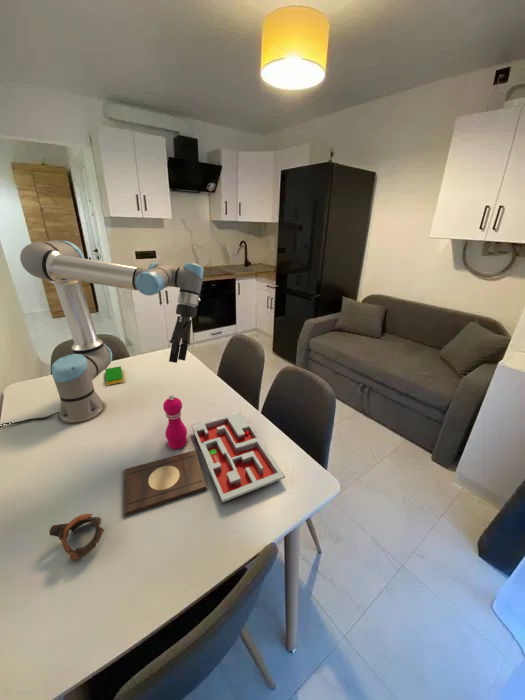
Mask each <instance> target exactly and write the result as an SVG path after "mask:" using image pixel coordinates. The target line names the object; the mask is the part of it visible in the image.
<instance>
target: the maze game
mask: <svg viewBox="0 0 525 700" xmlns="http://www.w3.org/2000/svg"><path fill="white" fill-rule="evenodd" d="M191 428H192V432H193V433H194V434H193V435H194V436H195V439H196V441H197V445H198V446H199V448H200V449H199V450H200V451H201V453H202V456H203V458H204V462H205V463H206V466H207V468H208V471H209V473H210V476H211V478H212V480H213V482H214V485H215V488H216V490H217V493H218V495H219V498H220V499H221V500H220V501H221V503H222V504H223V503H225V502H228V501H230V500H233V499H235V498H238V497H241V496H243V495H246V494H247V493H250V492H253V491H255V490H259V489H260V488H262V487H266V486H268V485H270V484H272V483H275V482H278V481H280V480H284V479H285V478H286V475H285V473H284V472H283V470H282V469H281V468H280V466H279V465H278V463H277V462H276V461H275V458H274V457H273V456H272V454H271V453H270V452H269V450H268V449H267V447H266V446H265V445H264V443H263V441H262V439H261V438H260V437H259V436H258V434H257V433H256V431H255V430H254V428H253V427H252V425H251V424H250V423H249V421H248V420H247V419H246V417H245V415H244V414H243V413H242V411H238V412H234V413H230V414H226V415H223V416H219V417H216V418H212V419H208V420H204V421H200V422H197V423H193V424H191Z"/></svg>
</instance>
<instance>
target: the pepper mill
mask: <svg viewBox="0 0 525 700" xmlns="http://www.w3.org/2000/svg"><path fill="white" fill-rule="evenodd" d="M162 407H163V411H164V412H165V417H166V418H167V420H168V423H167V426H166V429H165V439H166V440H167V445H168V448H170V449H172V450H179V449H182V448H183V447H185V446H186V445H187V434H188V430H187V427H186V425H185V424H184V422H183V421H182V419H181V416H182V408H183V402H182V401H181V399H180V398H178V397H175V396H174V395H173V394H170V395H169V396H168V398H167V399H166V400H165V401H164V402H163V404H162Z"/></svg>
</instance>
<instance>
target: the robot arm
mask: <svg viewBox="0 0 525 700" xmlns="http://www.w3.org/2000/svg"><path fill="white" fill-rule="evenodd" d="M19 260H20V264H21V265H22V268H23V269H24V270H25V271H26V272H27V273H28V274H29V275H31V276H33V277H35V278H38V279H41V280H47V282H49V283H51V284H53V285H54V287H55V291H56V293H57V297H58V299H59V302H60V305H61V308H62V311H63V314H64V317H65V321H66V324H67V326H68V329H69V332H70V334H71V335H70V336H71V337H72V340H73V344H72V345H71V351H72V354H67V355H65V356H61V357H59V358H58V359H56V360H55V361H54V362H53V363H52V365H51V373H52V374H51V375H52V379H53V381H54V384H55V387H56V391H57V393H58V396H59V398H60V404H59V411H57V412H53V413H51V414H49V415H47V416H43V417H32V418H28V419H27V418H26V419H22V420H19V421H10V422H4V423H1V424H0V425H2V426H0V428H2V427H3V426H5V425H3V424H7V425H6V426H8V425H17V424H23V423H26V422H30V421H37V420H38V421H39V420H40V421H41V420H45V419H46V420H47V419H49V418H51V417H54V416H56V415H59V418H60V420H61V422H64V423H67V424H79V423H84V422H87V421H89V420H92V419H94V418H96V417H97V416H98V415H100V414H101V412H103V410H104V407H105V405H104V402H103V400H102V399H101V397H100V396H99V395H98V394H97V392H96V391H95V388H94V387H95V386H94V383H93V381H94V380H95V379H96V378H97V377H98V376H99V375H100V374H101V373H102V372H103V371H106V369H108V368H109V366H110V365H111V363H112V361H113V353H112V350H111V348H110V347H109V346H107V345H106V343H104V340H102V339H100V338H98V335H97V332H96V329H95V325H94V322H93V321H94V320H93V318H92V315H91V311H90V309H89V305H88V302H87V301H88V300H87V299H86V294H85V292H84V289H83V285H82V283H88V284H96V285H101V286H108V287H114V288H118V289H119V288H120V289H127V290H132V291H138V292H140V293H141V295H145V296H154V295H157V294H159V293H161V291H163V290H164V289H166V288H168V287H171V288H172V287H173V288H176V289H177V288H178V289H179V292H178V298H177V304H176V309H175V314H176V315H177V317H176V322H175V326H174V328H173V332H172V334H171V335H172V336H171V337H170V340H169V343H170V344H171V347H170V352H169V357H168V358H169V359H168V362H169V363H175V364H177V363H178V361H179V360H180V361H184V362H186V357H187V352H188V346H189V345H191V331H192V330H191V329H192V322H193V321H192V319H191V318H197V314H198V308H197V307H198V306H199V302H201V298H200V296H201V291H202V286H203V280H204V273H205V269H204V268H203V267H204V266H202V265H200V264H198V263H195V262H185V263H184V265H183V266H182V267H179V266H175V265H170V264H166V263H162V262H151V263H150V264H149V266H147V268H144V267H138V266H132V265H126V264H121V263H113V262H109V261H108V262H107V261H101V260H96V259H89V258H85V256H84V253H83V251H82V250H81V248H79V246H77V245H76V244H75V243H73V242H70V241H69V240H60V239H59V240H57V239H56V240H48V241H47V240H46V241H36V242H30V243H29V244H27V245H25V246H24V247H23V248H22V250H21V251H20V254H19ZM12 422H14V423H12ZM9 423H11V424H9Z"/></svg>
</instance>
